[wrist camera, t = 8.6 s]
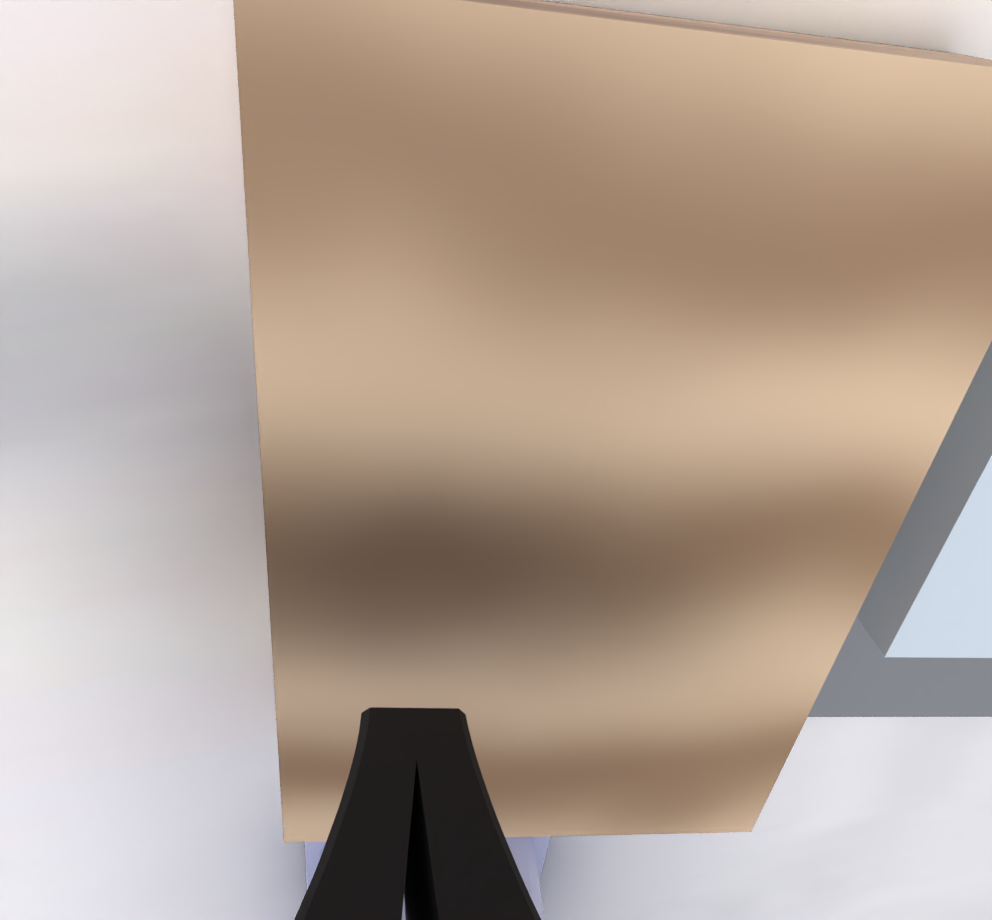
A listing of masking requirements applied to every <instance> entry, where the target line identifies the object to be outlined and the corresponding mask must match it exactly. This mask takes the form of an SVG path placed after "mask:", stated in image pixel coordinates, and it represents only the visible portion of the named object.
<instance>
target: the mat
mask: <svg viewBox="0 0 992 920" xmlns="http://www.w3.org/2000/svg"><path fill="white" fill-rule="evenodd" d="M808 717H992V658H920V657H884V656H883V654H882V653H881V651H880V650H879V648H878V647H877V645H876V644H875V642H874V641H873V639H872V638H871V636H870V635H869V633H868V632H867V631H866V629H865V628H864V626H863V625H862V623H861V622H860V620H859V619H858V617H856V619H855V621H854V623H853V625H852V627H851V629H850V631H849V633H848V635H847V637H846V639H845V641H844V643H843V645H842V647H841V649H840V651H839V653H838V655H837V657H836V659H835V661H834V663H833V665H832V668H831V670H830V672H829V674H828V676H827V678H826V680H825V682H824V684H823V686H822V688H821V690H820V692H819V694H818V696H817V698H816V700H815V702H814V704H813V706H812V708H811V710H810V712H809V714H808Z"/></svg>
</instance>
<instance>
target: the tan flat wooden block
mask: <svg viewBox="0 0 992 920" xmlns="http://www.w3.org/2000/svg"><path fill="white" fill-rule="evenodd" d="M233 2H234V19H235V36H236V52H237V69H238V86H239V102H240V119H241V136H242V153H243V169H244V186H245V203H246V219H247V236H248V253H249V269H250V286H251V303H252V320H253V336H254V353H255V370H256V386H257V403H258V420H259V436H260V453H261V470H262V486H263V503H264V520H265V537H266V553H267V570H268V587H269V603H270V620H271V637H272V653H273V670H274V687H275V704H276V720H277V737H278V754H279V770H280V787H281V804H282V820H283V837H284V842H326V841H327V838H328V836H329V833H330V830H331V827H332V825H333V822H334V819H335V816H336V814H337V811H338V808H339V805H340V802H341V799H342V795H343V792H344V789H345V786H346V782H347V779H348V776H349V772H350V769H351V765H352V761H353V757H354V753H355V749H356V744H357V739H358V735H359V728H360V720H361V713H362V712H364V711H365V710H367V709H368V708H370V707H387V708H459V709H460V710H461V711H462V712H464V713H465V714H466V719H467V723H468V728H469V732H470V736H471V740H472V744H473V747H474V751H475V754H476V758H477V761H478V764H479V767H480V770H481V773H482V777H483V779H484V782H485V785H486V788H487V791H488V794H489V797H490V800H491V802H492V805H493V808H494V810H495V813H496V816H497V818H498V821H499V824H500V826H501V829H502V831H503V833H504V836H505V837H544V836H588V835H632V834H675V833H719V832H751V831H752V829H753V827H754V825H755V823H756V821H757V819H758V817H759V814H760V812H761V810H762V808H763V806H764V804H765V802H766V800H767V798H768V796H769V794H770V792H771V790H772V788H773V786H774V784H775V782H776V780H777V778H778V776H779V774H780V772H781V770H782V768H783V766H784V763H785V761H786V759H787V757H788V755H789V753H790V751H791V749H792V747H793V745H794V743H795V741H796V739H797V737H798V735H799V733H800V731H801V729H802V727H803V725H804V723H805V721H806V719H807V717H808V714H809V712H810V710H811V708H812V706H813V704H814V702H815V700H816V698H817V696H818V694H819V692H820V690H821V688H822V686H823V684H824V682H825V680H826V678H827V676H828V674H829V672H830V670H831V668H832V665H833V663H834V661H835V659H836V657H837V655H838V653H839V651H840V649H841V647H842V645H843V643H844V641H845V639H846V637H847V635H848V633H849V631H850V629H851V627H852V625H853V623H854V621H855V619H856V617H857V614H858V612H859V610H860V608H861V606H862V604H863V602H864V600H865V598H866V596H867V594H868V592H869V590H870V588H871V586H872V584H873V582H874V580H875V578H876V576H877V574H878V572H879V570H880V568H881V565H882V563H883V561H884V559H885V557H886V555H887V553H888V551H889V549H890V547H891V545H892V543H893V541H894V539H895V537H896V535H897V533H898V531H899V529H900V527H901V525H902V523H903V521H904V519H905V516H906V514H907V512H908V510H909V508H910V506H911V504H912V502H913V500H914V498H915V496H916V494H917V492H918V490H919V488H920V486H921V484H922V482H923V480H924V478H925V476H926V474H927V472H928V470H929V468H930V465H931V463H932V461H933V459H934V457H935V455H936V453H937V451H938V449H939V447H940V445H941V443H942V441H943V439H944V437H945V435H946V433H947V431H948V429H949V427H950V425H951V423H952V421H953V419H954V416H955V414H956V412H957V410H958V408H959V406H960V404H961V402H962V400H963V398H964V396H965V394H966V392H967V390H968V388H969V386H970V384H971V382H972V380H973V378H974V376H975V374H976V372H977V370H978V367H979V365H980V363H981V361H982V359H983V357H984V355H985V353H986V351H987V349H988V347H989V345H990V343H991V341H992V60H989V59H983V58H978V57H972V56H967V55H961V54H956V53H949V52H941V51H933V50H926V49H918V48H910V47H902V46H894V45H886V44H878V43H871V42H863V41H855V40H847V39H839V38H831V37H823V36H816V35H808V34H800V33H792V32H784V31H776V30H768V29H761V28H753V27H745V26H737V25H729V24H721V23H713V22H705V21H698V20H690V19H682V18H674V17H666V16H658V15H650V14H643V13H635V12H627V11H619V10H611V9H603V8H595V7H588V6H580V5H572V4H564V3H556V2H548V1H540V0H233Z"/></svg>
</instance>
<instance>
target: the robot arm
mask: <svg viewBox="0 0 992 920" xmlns="http://www.w3.org/2000/svg"><path fill="white" fill-rule="evenodd" d="M550 837H551V836H544V837H505V836H504V833H503V831H502V829H501V826H500V824H499V821H498V818H497V816H496V813H495V810H494V808H493V805H492V802H491V800H490V797H489V794H488V791H487V788H486V785H485V782H484V779H483V777H482V773H481V770H480V767H479V764H478V761H477V758H476V754H475V751H474V747H473V744H472V740H471V736H470V732H469V728H468V723H467V719H466V714H465V713H464V712H462V711H461V710H460V709H459V708H387V707H370V708H368V709H367V710H365V711H364V712H362V713H361V720H360V728H359V735H358V739H357V744H356V749H355V753H354V757H353V761H352V765H351V769H350V772H349V776H348V779H347V782H346V786H345V789H344V792H343V795H342V799H341V802H340V805H339V808H338V811H337V814H336V816H335V819H334V822H333V825H332V827H331V830H330V833H329V836H328V838H327V841H326V842H305V864H306V894H305V896H304V899H303V901H302V903H301V906H300V908H299V910H298V913H297V915H296V917H295V920H544V913H543V906H542V899H541V891H540V884H539V880H540V876H541V873H542V869H543V865H544V861H545V857H546V853H547V849H548V845H549V841H550Z"/></svg>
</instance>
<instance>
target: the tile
mask: <svg viewBox="0 0 992 920" xmlns="http://www.w3.org/2000/svg"><path fill="white" fill-rule="evenodd" d="M857 617H858V619H859V620H860V622H861V623H862V625H863V626H864V628H865V629H866V631H867V632H868V633H869V635H870V636H871V638H872V639H873V641H874V642H875V644H876V645H877V647H878V648H879V650H880V651H881V653H882V654H883V656H884V657H920V658H992V341H991V343H990V345H989V347H988V349H987V351H986V353H985V355H984V357H983V359H982V361H981V363H980V365H979V367H978V370H977V372H976V374H975V376H974V378H973V380H972V382H971V384H970V386H969V388H968V390H967V392H966V394H965V396H964V398H963V400H962V402H961V404H960V406H959V408H958V410H957V412H956V414H955V416H954V419H953V421H952V423H951V425H950V427H949V429H948V431H947V433H946V435H945V437H944V439H943V441H942V443H941V445H940V447H939V449H938V451H937V453H936V455H935V457H934V459H933V461H932V463H931V465H930V468H929V470H928V472H927V474H926V476H925V478H924V480H923V482H922V484H921V486H920V488H919V490H918V492H917V494H916V496H915V498H914V500H913V502H912V504H911V506H910V508H909V510H908V512H907V514H906V516H905V519H904V521H903V523H902V525H901V527H900V529H899V531H898V533H897V535H896V537H895V539H894V541H893V543H892V545H891V547H890V549H889V551H888V553H887V555H886V557H885V559H884V561H883V563H882V565H881V568H880V570H879V572H878V574H877V576H876V578H875V580H874V582H873V584H872V586H871V588H870V590H869V592H868V594H867V596H866V598H865V600H864V602H863V604H862V606H861V608H860V610H859V612H858V614H857Z"/></svg>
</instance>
